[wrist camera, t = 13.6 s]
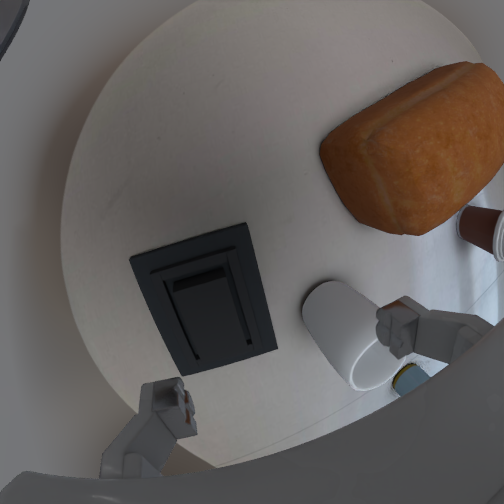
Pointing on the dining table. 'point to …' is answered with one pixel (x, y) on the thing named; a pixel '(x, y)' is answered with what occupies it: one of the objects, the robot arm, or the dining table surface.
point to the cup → (349, 335)
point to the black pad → (210, 314)
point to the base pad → (197, 262)
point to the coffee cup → (483, 229)
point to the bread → (420, 149)
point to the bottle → (409, 379)
